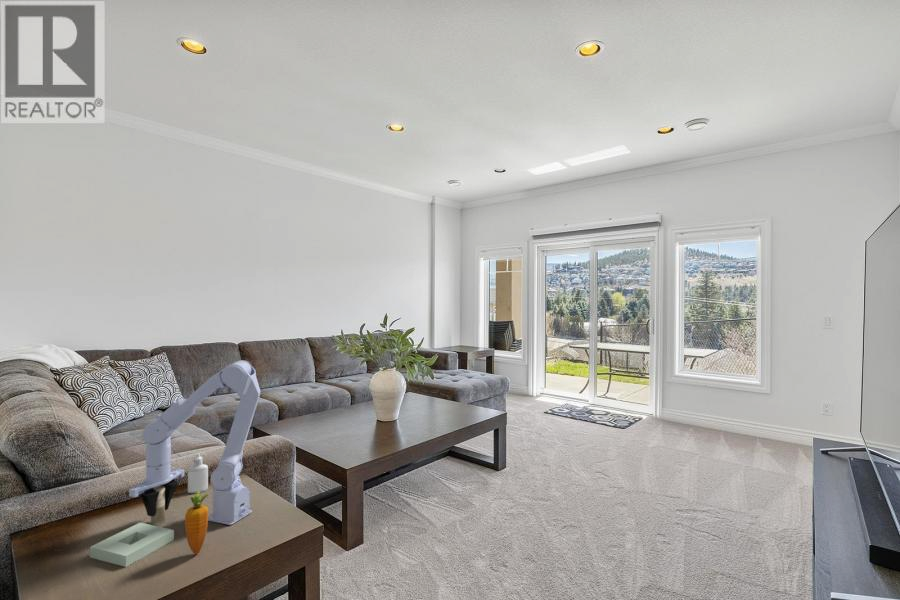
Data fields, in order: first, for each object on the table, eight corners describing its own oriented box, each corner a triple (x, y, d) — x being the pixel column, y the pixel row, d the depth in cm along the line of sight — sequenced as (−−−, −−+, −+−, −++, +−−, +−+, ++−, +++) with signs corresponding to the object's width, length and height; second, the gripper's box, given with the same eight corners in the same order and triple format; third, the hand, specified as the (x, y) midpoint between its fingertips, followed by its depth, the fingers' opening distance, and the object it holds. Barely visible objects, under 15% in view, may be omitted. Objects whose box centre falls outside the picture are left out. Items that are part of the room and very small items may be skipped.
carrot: (192, 548, 106) (193, 487, 107) (212, 548, 106) (213, 488, 106) (179, 560, 101) (180, 496, 102) (200, 560, 101) (200, 497, 101)
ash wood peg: (167, 520, 120) (167, 486, 120) (156, 526, 116) (157, 491, 117) (159, 519, 121) (159, 485, 121) (147, 524, 117) (148, 490, 118)
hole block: (173, 539, 110) (173, 530, 110) (125, 567, 99) (126, 556, 99) (139, 531, 114) (140, 522, 114) (89, 557, 102) (90, 546, 102)
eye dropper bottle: (201, 494, 136) (202, 456, 136) (185, 493, 137) (185, 455, 137) (210, 488, 141) (210, 451, 141) (194, 487, 141) (194, 451, 141)
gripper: (171, 452, 127) (171, 498, 127) (121, 471, 113) (120, 522, 113) (190, 455, 125) (189, 502, 125) (140, 474, 111) (139, 527, 111)
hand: (158, 512), depth 119 cm, fingers closed on ash wood peg, 3 cm apart
